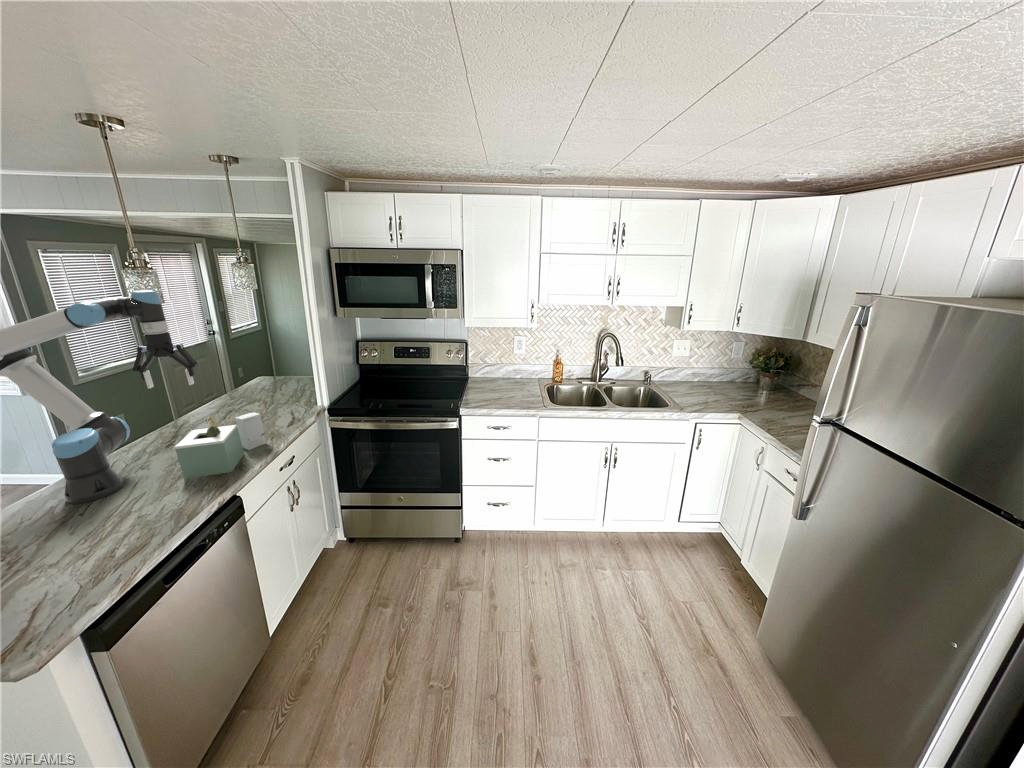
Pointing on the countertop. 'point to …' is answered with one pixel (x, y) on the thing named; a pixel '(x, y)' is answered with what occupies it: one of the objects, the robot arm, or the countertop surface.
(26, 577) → the countertop surface
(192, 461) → the box
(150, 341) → the robot arm
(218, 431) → the vegetable
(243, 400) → the countertop surface
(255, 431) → the skincare box
